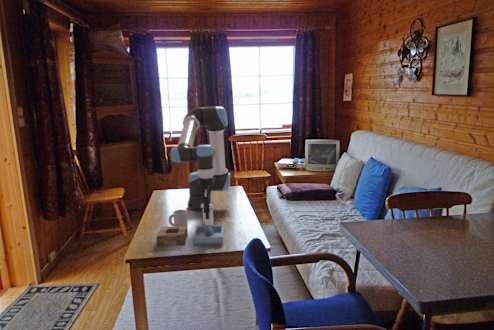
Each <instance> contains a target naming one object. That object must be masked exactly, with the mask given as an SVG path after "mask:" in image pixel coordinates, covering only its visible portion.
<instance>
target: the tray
mask: <svg viewBox="0 0 494 330" xmlns="http://www.w3.org/2000/svg"><path fill="white" fill-rule="evenodd" d="M224 230H225V229H224V225H223V224H218V225H215V224H214V235H212V236H205V235H204V226H203V225H196V226H195V229H194V234H193V237H192V240H193V241H192V244H193V247H198V246H199V247H200V246H201V247H202V246H219V245H220V246H222V245H223V244H224V233H225V231H224Z"/></svg>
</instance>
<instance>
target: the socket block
mask: <svg viewBox="0 0 494 330" xmlns="http://www.w3.org/2000/svg"><path fill="white" fill-rule="evenodd" d="M188 231H189V230H188V227H187V226H171V225H169V226H161V228H160V229H159V231H158V233H157V235H156V247H169V246H171V247H173V246H185V244H186V242H187V238H188V235H189V233H188Z"/></svg>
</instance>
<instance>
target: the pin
mask: <svg viewBox="0 0 494 330" xmlns="http://www.w3.org/2000/svg"><path fill="white" fill-rule="evenodd" d="M209 205H210V206H209V207H210V218H211V225H205V213H203V211H204V203H202V204H201V209H203V210H202V223H203V225H202V226H204V235H205V236H212V235H214V225H215V224H214V209H215V203H213V202H211V203H209Z"/></svg>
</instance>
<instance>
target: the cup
mask: <svg viewBox="0 0 494 330" xmlns="http://www.w3.org/2000/svg"><path fill="white" fill-rule="evenodd" d="M168 223H169V226H187V228H188V224H189V223H188V211H187V210H186V209H178V210H174V211H173V213H172V214H170V215H169V217H168Z"/></svg>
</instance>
